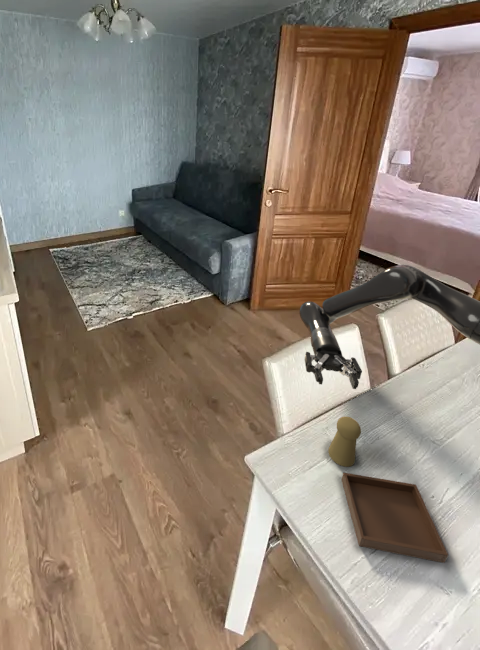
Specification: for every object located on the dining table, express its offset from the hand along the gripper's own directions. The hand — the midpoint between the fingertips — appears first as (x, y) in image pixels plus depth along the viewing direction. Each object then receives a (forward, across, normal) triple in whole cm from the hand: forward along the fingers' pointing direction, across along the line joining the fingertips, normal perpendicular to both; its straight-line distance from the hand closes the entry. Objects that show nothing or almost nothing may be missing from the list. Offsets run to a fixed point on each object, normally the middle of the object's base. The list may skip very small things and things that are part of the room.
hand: (338, 384), depth 91 cm
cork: (+11, 0, +12) cm, 16 cm away
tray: (+24, +6, +12) cm, 28 cm away
